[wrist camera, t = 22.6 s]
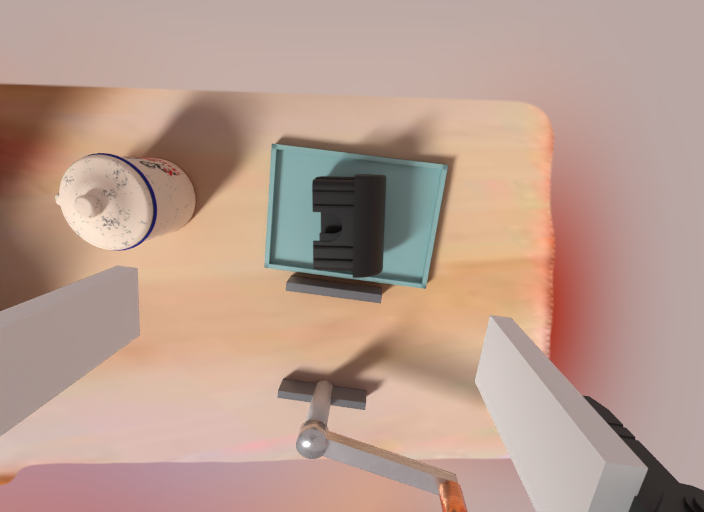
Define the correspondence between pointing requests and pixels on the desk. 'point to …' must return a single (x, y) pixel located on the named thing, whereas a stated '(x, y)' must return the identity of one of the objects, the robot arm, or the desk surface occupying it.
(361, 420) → the desk surface
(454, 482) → the crank handle
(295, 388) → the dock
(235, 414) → the desk surface
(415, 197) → the tray
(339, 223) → the end cap
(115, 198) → the teacup with lid
